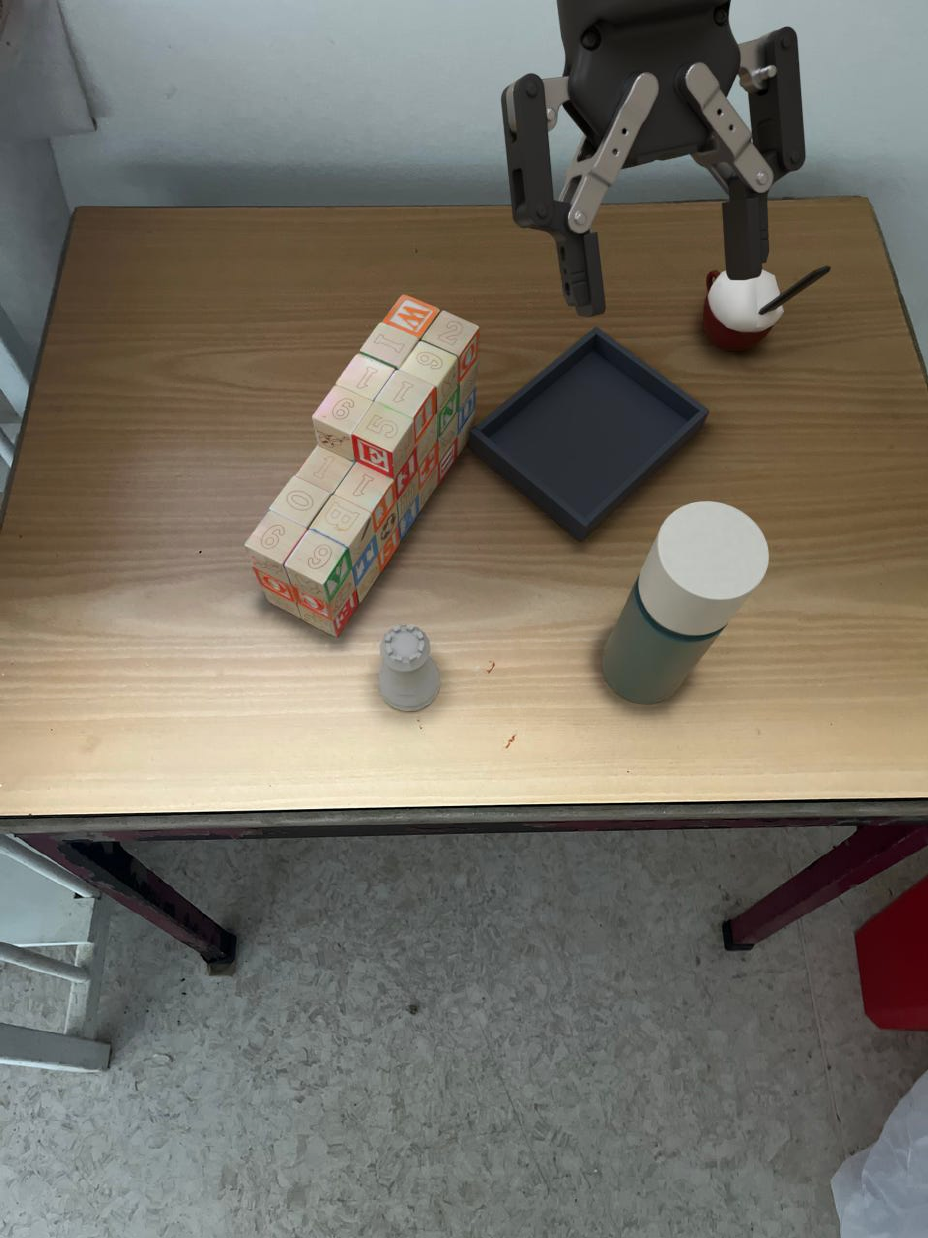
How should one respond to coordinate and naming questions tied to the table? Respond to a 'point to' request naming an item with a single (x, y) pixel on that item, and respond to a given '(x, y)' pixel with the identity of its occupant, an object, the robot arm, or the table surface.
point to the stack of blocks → (369, 464)
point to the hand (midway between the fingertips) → (669, 296)
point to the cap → (702, 567)
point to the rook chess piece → (407, 669)
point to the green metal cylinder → (649, 654)
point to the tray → (587, 432)
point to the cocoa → (746, 307)
